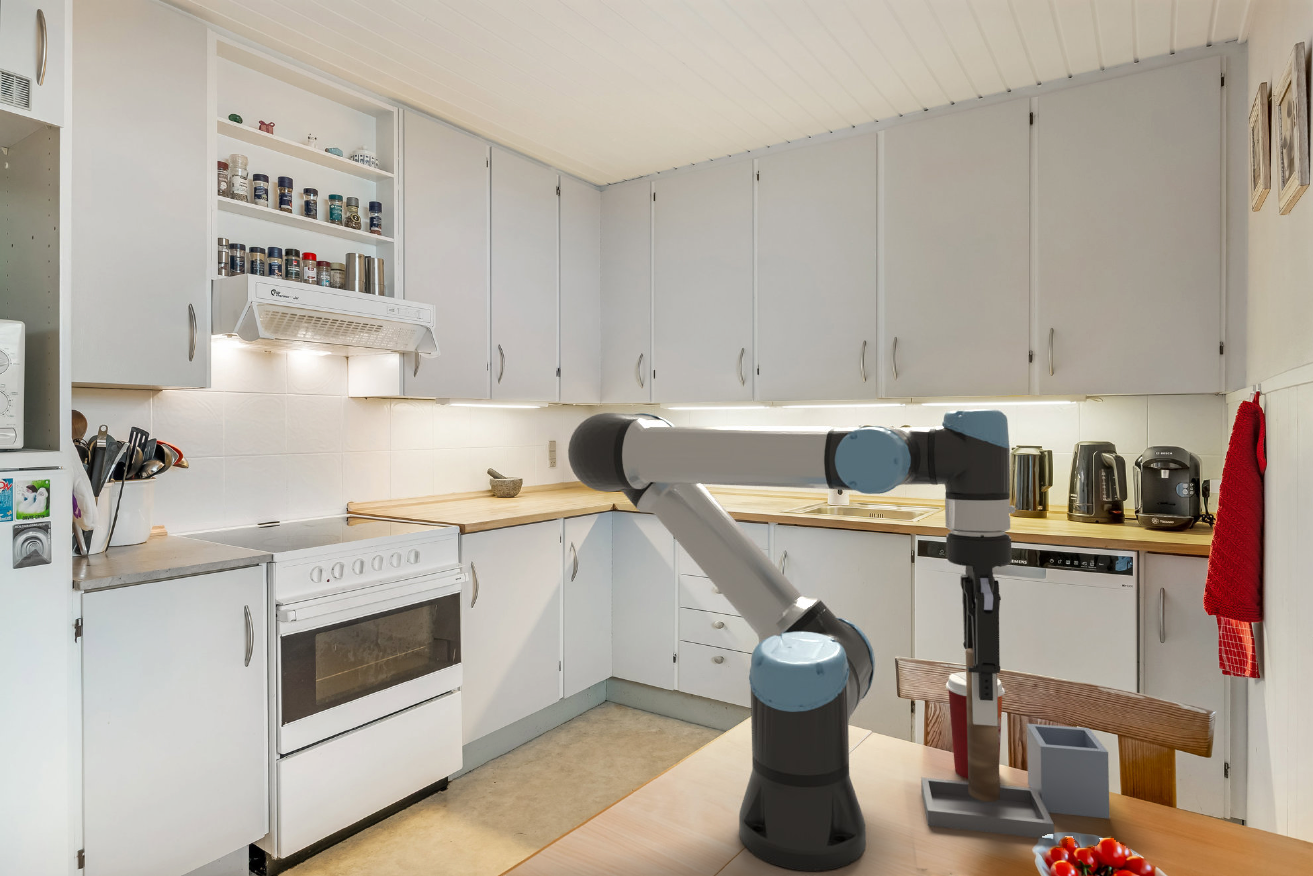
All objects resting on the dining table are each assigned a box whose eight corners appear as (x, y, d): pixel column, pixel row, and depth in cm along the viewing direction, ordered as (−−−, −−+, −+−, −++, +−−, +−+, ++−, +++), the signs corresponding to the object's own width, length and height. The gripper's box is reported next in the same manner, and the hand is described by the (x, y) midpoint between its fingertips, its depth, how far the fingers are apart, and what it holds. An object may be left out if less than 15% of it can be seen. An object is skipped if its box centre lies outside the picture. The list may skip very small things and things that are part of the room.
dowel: (970, 800, 91) (967, 655, 91) (966, 786, 94) (963, 647, 94) (1002, 803, 90) (999, 657, 90) (996, 789, 93) (993, 648, 93)
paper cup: (1013, 793, 99) (1011, 689, 99) (953, 788, 100) (951, 686, 100) (998, 767, 107) (996, 671, 107) (942, 763, 108) (940, 669, 108)
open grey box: (1042, 817, 92) (1040, 746, 92) (1028, 789, 100) (1026, 723, 100) (1109, 824, 90) (1108, 752, 90) (1090, 795, 98) (1089, 728, 98)
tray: (928, 831, 90) (927, 810, 90) (921, 796, 98) (921, 777, 98) (1054, 846, 86) (1053, 824, 86) (1035, 808, 95) (1035, 788, 95)
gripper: (1025, 541, 83) (1030, 747, 83) (997, 524, 99) (1001, 697, 99) (955, 540, 85) (959, 741, 85) (938, 524, 101) (942, 693, 101)
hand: (982, 717), depth 92 cm, fingers closed on dowel, 3 cm apart
